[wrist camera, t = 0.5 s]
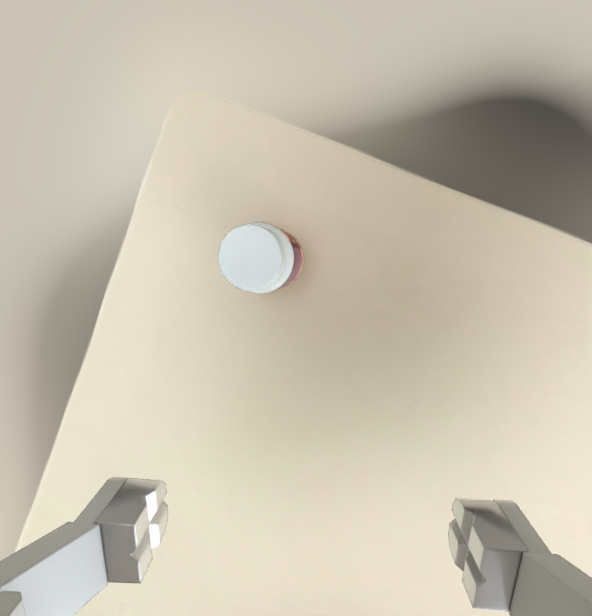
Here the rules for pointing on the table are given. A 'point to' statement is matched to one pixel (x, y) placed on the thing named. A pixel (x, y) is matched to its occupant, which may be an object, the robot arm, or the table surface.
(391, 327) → the table surface
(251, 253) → the pill bottle
